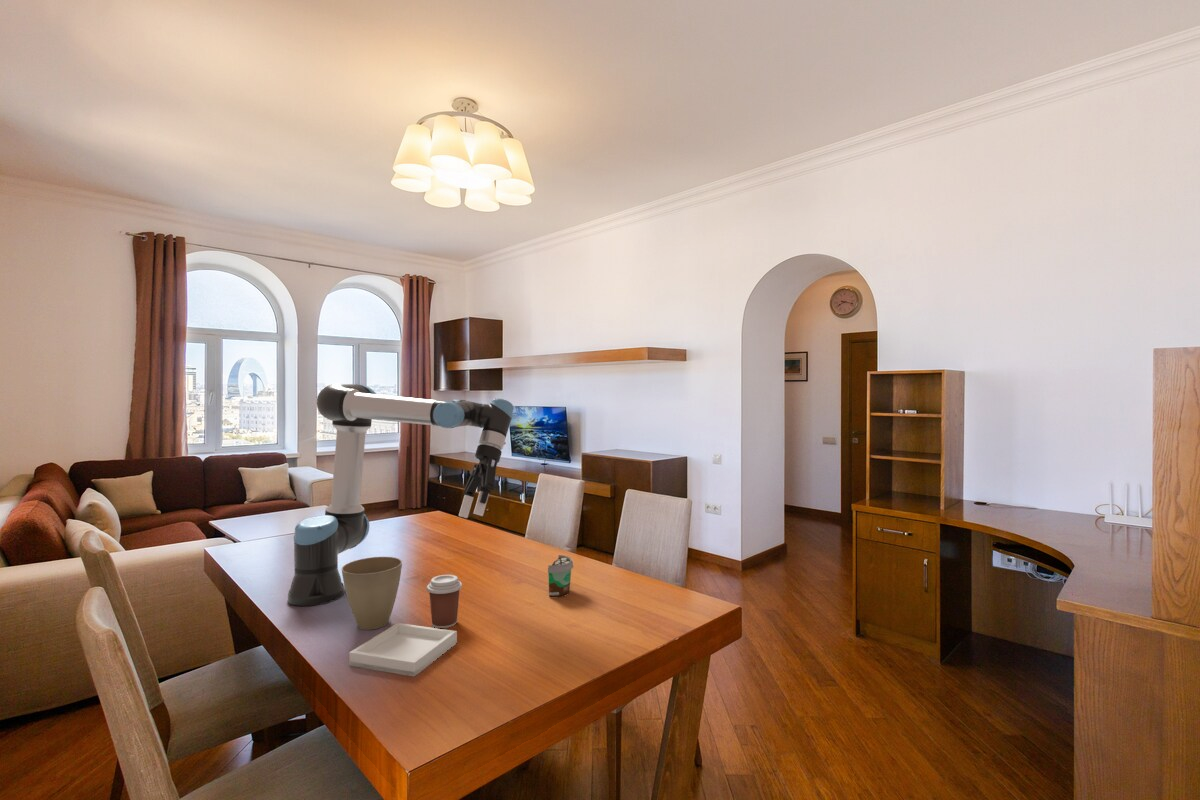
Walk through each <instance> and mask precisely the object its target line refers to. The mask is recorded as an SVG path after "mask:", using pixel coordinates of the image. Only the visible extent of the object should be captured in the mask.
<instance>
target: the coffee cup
mask: <svg viewBox="0 0 1200 800" xmlns="http://www.w3.org/2000/svg"><path fill="white" fill-rule="evenodd" d="M462 587H463V583H462V582H461V581H460V580H459V577H458V576H457V575H454V574H442V575H437V576H436V575H435V576H434V577H432V578H431V580H430V582H429V583H428V584H427V586H426V591H427V592H428V593H429V605H430V616H431V625H432V628H434V627H435V628H445V629H449V627H450V628H452V627H451V626H453V627H454V625H455V624H456V623H457V624H458V614H459V600H460V590H462ZM457 624H456V625H457ZM456 625H455V626H456Z"/></svg>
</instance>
